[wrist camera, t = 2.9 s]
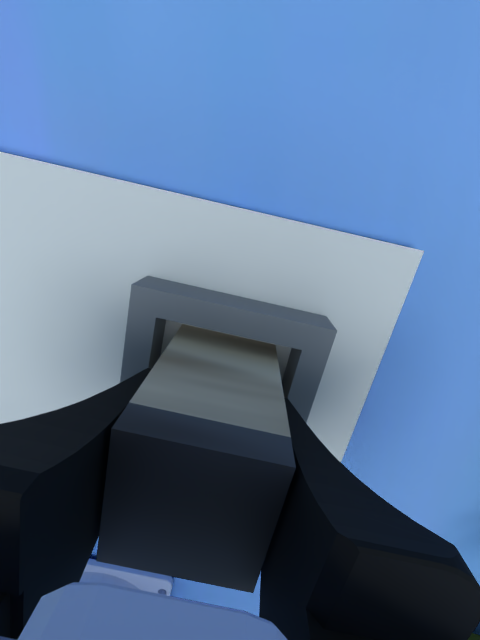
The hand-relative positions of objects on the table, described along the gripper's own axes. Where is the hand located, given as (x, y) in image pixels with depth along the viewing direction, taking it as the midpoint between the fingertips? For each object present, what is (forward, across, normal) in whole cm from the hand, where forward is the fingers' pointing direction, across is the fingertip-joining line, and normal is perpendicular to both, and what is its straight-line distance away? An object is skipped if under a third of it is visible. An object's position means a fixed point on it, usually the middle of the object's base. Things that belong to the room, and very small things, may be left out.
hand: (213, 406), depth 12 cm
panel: (+3, +8, 0) cm, 9 cm away
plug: (+2, 0, 0) cm, 2 cm away
